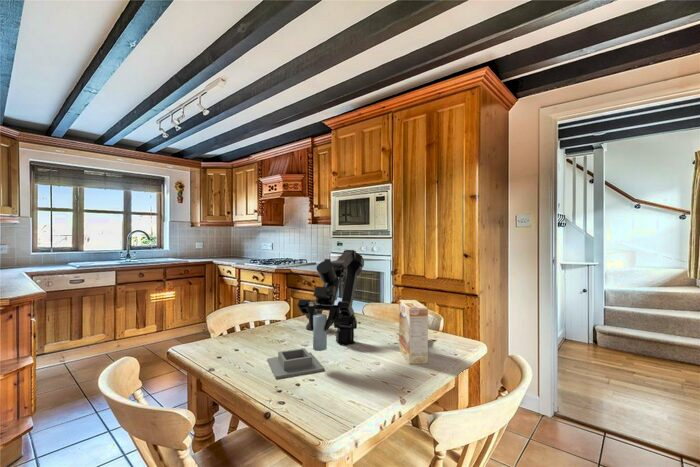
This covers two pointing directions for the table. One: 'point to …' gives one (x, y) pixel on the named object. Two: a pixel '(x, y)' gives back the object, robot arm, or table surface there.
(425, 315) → the coffeecake box
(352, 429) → the table surface
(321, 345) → the pale blue rounded cylinder
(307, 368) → the grey square socket base
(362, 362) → the table surface
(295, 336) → the table surface
